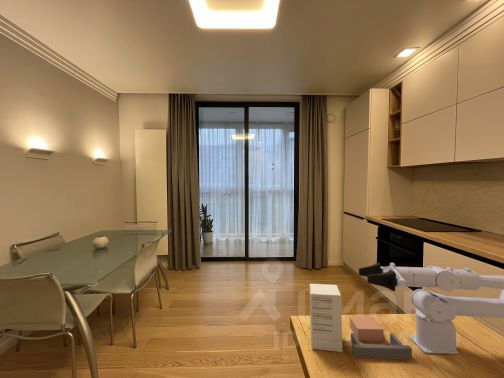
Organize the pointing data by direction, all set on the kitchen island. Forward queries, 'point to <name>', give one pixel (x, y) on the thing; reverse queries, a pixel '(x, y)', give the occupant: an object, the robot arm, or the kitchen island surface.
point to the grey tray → (381, 349)
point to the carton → (366, 328)
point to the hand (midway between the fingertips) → (363, 275)
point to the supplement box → (325, 317)
